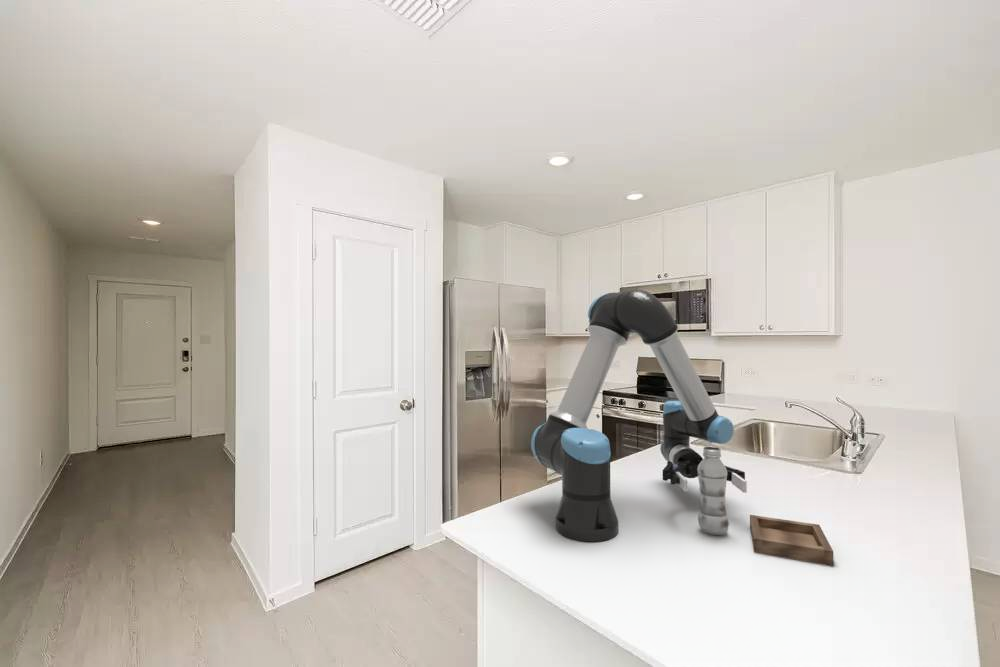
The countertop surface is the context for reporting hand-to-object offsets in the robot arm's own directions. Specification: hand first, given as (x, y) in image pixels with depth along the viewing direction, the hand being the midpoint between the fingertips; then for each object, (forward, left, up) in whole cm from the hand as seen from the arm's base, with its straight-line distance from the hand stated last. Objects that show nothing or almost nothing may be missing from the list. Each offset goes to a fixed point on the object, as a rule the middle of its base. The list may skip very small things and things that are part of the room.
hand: (715, 486), depth 106 cm
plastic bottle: (-1, -1, -11) cm, 11 cm away
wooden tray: (+14, -1, -11) cm, 18 cm away
